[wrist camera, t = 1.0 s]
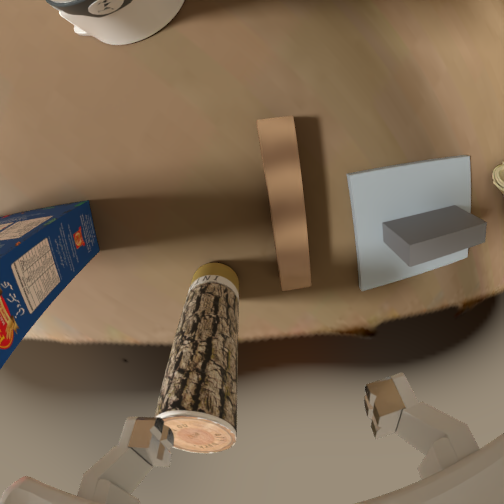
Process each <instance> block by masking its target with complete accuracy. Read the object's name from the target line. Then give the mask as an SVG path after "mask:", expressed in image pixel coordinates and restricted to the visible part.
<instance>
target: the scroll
mask: <svg viewBox="0 0 504 504" xmlns="http://www.w3.org/2000/svg"><path fill="white" fill-rule="evenodd" d="M492 179H493V183H494V184H495V185H496V187H497V188H498V189H499V190H500V191H501V192H502V193H503V195H504V162H503V163H502V164H501V165H498V166H497V167H496V168H495V169H494V170H493V173H492Z"/></svg>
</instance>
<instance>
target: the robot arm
mask: <svg viewBox="0 0 504 504" xmlns="http://www.w3.org/2000/svg"><path fill="white" fill-rule="evenodd" d="M46 2H47V3H49V4H50V5H51V6H52V7H54V8H55V9H57V10H59V14H60V16H62V17H63V18H65V19H66V20H68V21H69V22H71V23H72V24H74V31H75V32H76V33H77V34H79V35H84V36H94V37H95V38H97V39H99V40H100V41H102V42H104V43H107V44H112V45H124V44H130V43H134V42H137V41H140V40H143V39H145V38H147V37H149V36H151V35H153V34H154V33H156V32H157V31H159V30H160V29H162V28H163V27H164V26H165V25H167V24H168V23H169V22H170V21H171V20H172V19H173V18H174V16H175V15H176V14H177V13H178V11H179V10H180V8H181V6H182V4H183V2H184V0H46ZM365 392H366V395H365V396H364V405H365V410H366V414H367V416H368V418H370V419H371V420H372V422H371V428H372V431H373V434H374V437H375V439H378V438H381V437H384V436H387V435H390V434H393V433H395V434H397V435H398V436H399V437H401V438H402V439H404V440H405V441H406V442H408V443H409V444H410V445H412V446H413V447H415V448H416V449H417V450H419V451H420V452H422V453H423V454H424V455H426V456H425V457H424V459H423V461H422V462H421V464H420V465H419V467H418V471H419V474H420V477H421V480H420V481H418V482H416V483H413V484H411V485H408V486H406V487H403V488H401V489H398V490H395V491H393V492H390V493H387V494H384V495H381V496H378V497H375V498H372V499H369V500H366V501H362V502H359V503H355V504H504V433H503V434H501V435H500V436H499V437H497V438H496V439H494V440H493V441H491V442H490V443H488V444H487V445H485V446H484V447H482V448H481V449H479V447H478V445H477V443H476V441H475V439H474V437H473V435H472V433H471V431H470V430H469V427H468V426H467V424H465V423H463V422H461V421H459V420H457V419H455V418H453V417H451V416H449V415H447V414H445V413H443V412H441V411H439V410H437V409H436V408H433V407H432V406H429V405H428V404H426V403H424V402H420V403H419V402H418V400H417V398H416V396H415V394H414V392H413V390H412V388H411V386H410V384H409V383H408V381H407V379H406V377H405V375H404V374H403V373H398V374H396V375H393V376H391V377H387V378H384V379H381V380H378V381H375V382H372V383H369V384H366V386H365ZM173 445H174V435H173V432H172V430H171V429H170V428H169V427H168V426H166V425H164V421H163V420H162V418H161V417H128V418H127V419H126V421H125V425H124V427H123V430H122V434H121V437H120V440H119V443H118V446H114V447H113V448H112V449H111V450H110V451H109V452H108V453H107V454H106V455H104V456H103V457H102V458H101V459H100V460H99V461H98V462H97V463H96V464H95V465H93V466H92V467H91V468H90V469H89V470H88V471H86V472H85V473H84V475H83V478H82V481H81V484H80V488H79V491H78V495H77V496H76V495H72V494H70V493H67V492H64V491H62V490H59V489H57V488H54V487H51V486H49V485H47V484H44V483H42V482H40V481H38V480H36V479H33V478H31V477H28V476H25V477H22V478H20V479H19V480H17V481H16V482H14V483H13V484H11V485H10V486H9V487H7V489H6V490H5V491H4V493H3V494H2V497H1V498H0V504H140V501H139V499H137V498H135V497H134V496H132V495H131V494H132V493H133V491H134V490H135V489H136V487H137V486H138V485H139V484H140V483H141V481H142V480H143V479H144V478H145V477H146V475H147V474H148V473H149V471H150V470H151V469H152V468H153V467H152V466H157V467H170V462H171V457H172V454H171V452H170V451H169V450H170V449H171V448H172V447H173Z"/></svg>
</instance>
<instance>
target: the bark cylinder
mask: <svg viewBox="0 0 504 504" xmlns="http://www.w3.org/2000/svg"><path fill="white" fill-rule="evenodd" d="M238 316H239V280H238V277H237V275H236V273H235V272H234V271H233V270H232V269H231V268H230V267H228V266H226V265H224V264H221V263H208V264H205V265H203V266H201V267H200V268H199V269H198V270H197V271H196V272H195V274H194V276H193V279H192V282H191V285H190V288H189V291H188V295H187V298H186V301H185V305H184V308H183V311H182V315H181V318H180V321H179V325H178V328H177V332H176V335H175V339H174V343H173V346H172V350H171V353H170V357H169V361H168V364H167V368H166V372H165V376H164V380H163V384H162V387H161V392H160V395H159V399H158V403H157V407H156V412H155V416H154V417H161V418H162V420H163V421H164V425H166V426H168V427H169V428H170V429H171V430H172V432H173V435H174V445H173V447H174V448H178V449H180V450H184V451H188V452H194V453H216V452H220V451H224V450H227V449H229V448H230V447H232V446H233V445H234V444H235V442H236V432H237V429H236V428H237V364H238V360H237V359H238Z"/></svg>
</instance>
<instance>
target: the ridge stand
mask: <svg viewBox="0 0 504 504" xmlns="http://www.w3.org/2000/svg"><path fill="white" fill-rule="evenodd" d="M347 179H348V186H349V192H350V199H351V207H352V214H353V223H354V231H355V241H356V251H357V263H358V276H359V288H360V289H361V291H365V290H368V289H372V288H375V287H379V286H382V285H386V284H389V283H392V282H395V281H399V280H402V279H405V278H408V277H411V276H415V275H418V274H421V273H424V272H427V271H430V270H433V269H436V268H439V267H442V266H445V265H447V264H450V263H453V262H456V261H459V260H461V259H464V258H467V255H468V248H470V247H473V246H475V245H478V244H481V243H484V242H485V237H486V225H487V222H485V221H483V220H482V219H480V218H478V217H476V216H474V215H473V214H471V172H470V156H467V155H461V156H453V157H445V158H438V159H431V160H424V161H417V162H411V163H405V164H399V165H393V166H387V167H381V168H375V169H370V170H364V171H359V172H354V173H349V174H347Z"/></svg>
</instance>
